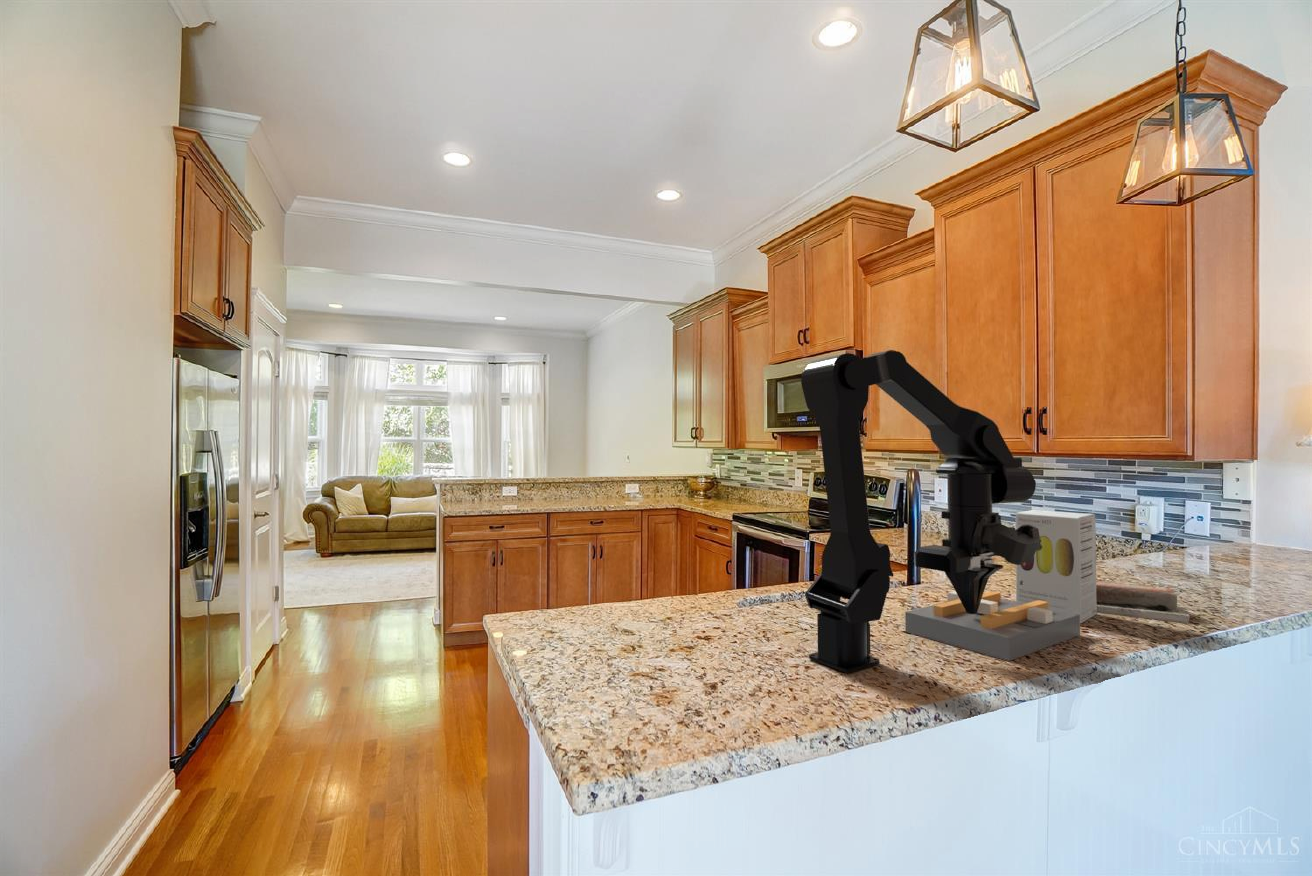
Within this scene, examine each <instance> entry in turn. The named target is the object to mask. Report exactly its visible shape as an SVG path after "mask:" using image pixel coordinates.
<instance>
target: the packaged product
mask: <svg viewBox="0 0 1312 876" xmlns="http://www.w3.org/2000/svg"><path fill="white" fill-rule="evenodd" d="M1096 600H1097V613H1101V614H1109V615H1116V616H1123V617H1124V616H1125V617H1126V616H1127V617H1131V618H1132V617H1134V618H1139V617H1140V619H1150V620H1158V621H1167V622H1174V623H1181V624H1182V623H1183V624H1189V621H1190V614H1188V612H1187V611H1186V610H1185V609H1184V607H1182V604H1178V595H1177V594H1176V593H1175V590H1174V589H1173V588H1168V587H1167V588H1166V587H1155V586H1147V585H1138V584H1137V585H1136V584H1131V583H1121V582H1112V581H1111V582H1110V581H1100V580H1096Z"/></svg>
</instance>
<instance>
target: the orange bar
mask: <svg viewBox="0 0 1312 876" xmlns="http://www.w3.org/2000/svg"><path fill="white" fill-rule="evenodd" d="M1032 607H1037V608H1042V609H1047V610H1048V602H1045V601H1040V600H1037V601H1034V602H1030V603H1026V604H1023V605H1019V606H1016V607H1012V608H1008V609H1005V610H1001V611H998V612H994V613H990V614H987V615H983V616H981V627H985V628H989V629H993V628H996V627H999V626H1002V625H1006V624H1009V623H1012V622H1016V621H1019V620H1022V619H1025V618H1027V609H1029V608H1032Z"/></svg>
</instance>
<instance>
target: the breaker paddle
mask: <svg viewBox="0 0 1312 876" xmlns="http://www.w3.org/2000/svg"><path fill="white" fill-rule="evenodd" d="M994 612H998V602H993V601H988V600H983V599H981V602H980V605H979V608H978V611H977V613H982V614H986V615H987V614H990V613H994Z"/></svg>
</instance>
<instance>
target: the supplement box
mask: <svg viewBox="0 0 1312 876" xmlns="http://www.w3.org/2000/svg"><path fill="white" fill-rule="evenodd" d="M1028 524H1029V525H1031V526H1034V527H1036V528H1038V530H1039V536H1040V539H1041V543H1040V544H1041V545H1042V549H1041V550H1038V551H1036V552H1035V555H1034V557H1033V560H1032V562H1031V563H1028V562H1025V563H1023V564H1021V565H1015V602H1020V603H1025V604H1026V603H1030V602H1034V601H1037V600H1040V601H1045V602H1048V608H1050V609H1055V610H1060V611H1065V612H1070V613H1075V614H1080V624H1082V623H1084V622H1086V621H1087V620H1089V619H1091V618H1093V617H1094V616H1096V615H1097V614H1098V612H1097V600H1096V581H1097V545H1096V544H1097V543H1096V542H1097V541H1096V514H1095V513H1081V512H1069V511H1068V512H1067V511H1053V510H1041V509H1030V510H1026V511H1025V510H1024V511H1018V512H1016V513H1015V530H1017V529H1018V528H1019V527H1020V526H1022V525H1028Z"/></svg>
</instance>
